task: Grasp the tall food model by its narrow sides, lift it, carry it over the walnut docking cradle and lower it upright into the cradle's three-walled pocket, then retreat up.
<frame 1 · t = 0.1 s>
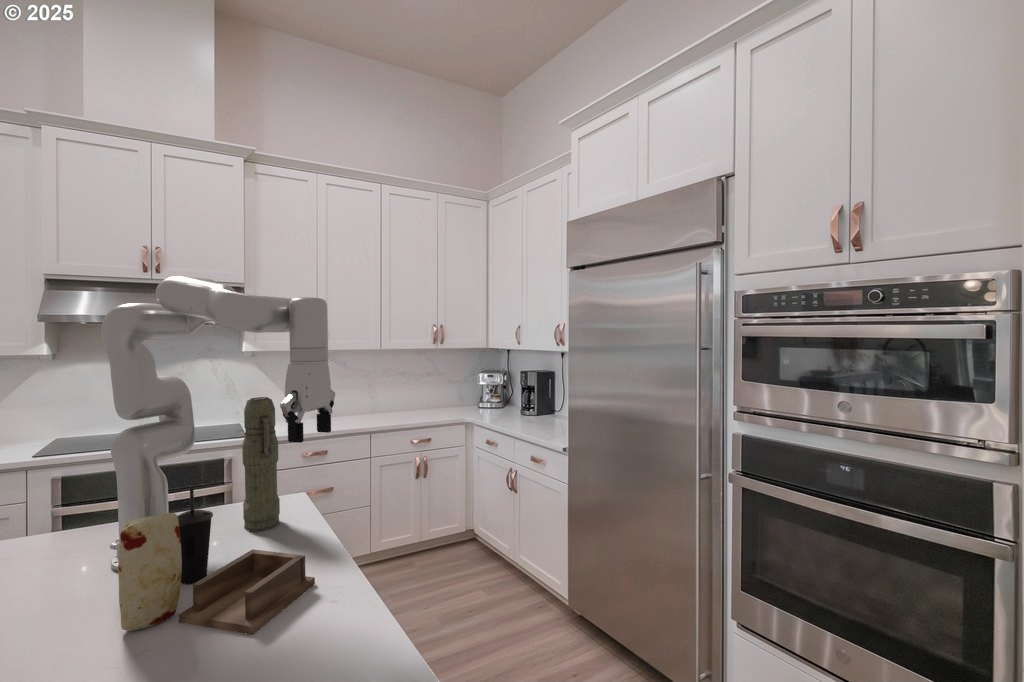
hand: (310, 436, 108), 31 cm above the counter, tool pointing down, fingers open, 9 cm apart
thermos: (261, 525, 140), on the counter
drinking cup: (193, 580, 110), on the counter
food model: (152, 623, 94), on the counter
dock: (251, 602, 101), on the counter
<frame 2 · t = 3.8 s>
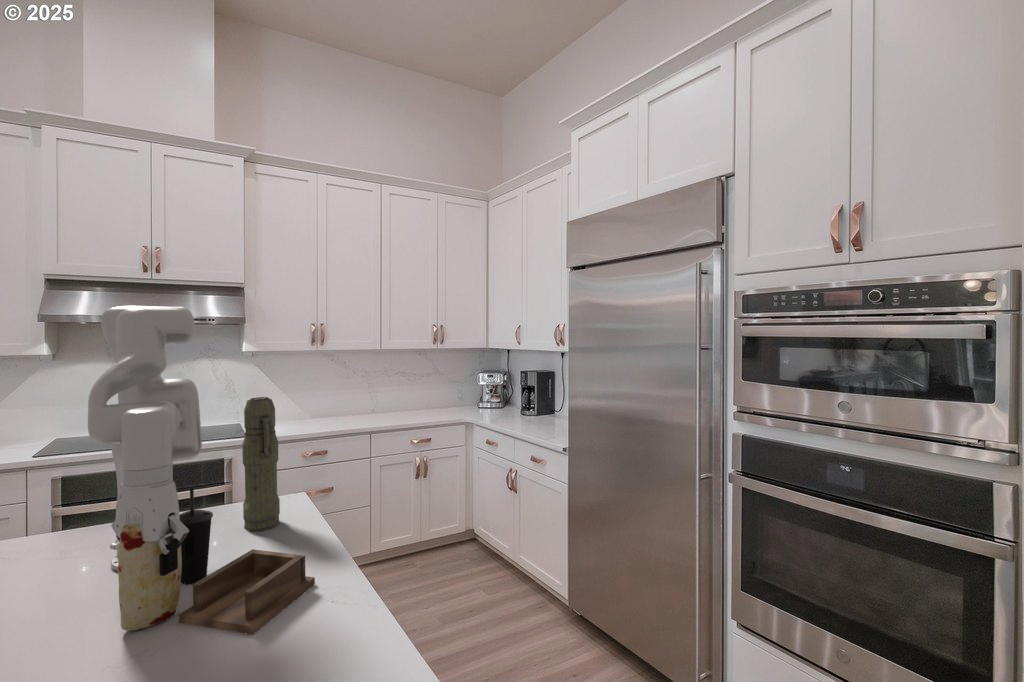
hand: (150, 569, 94), 10 cm above the counter, tool pointing down, fingers closed on food model, 7 cm apart
food model: (152, 623, 94), on the counter, touching gripper
everything else where it was.
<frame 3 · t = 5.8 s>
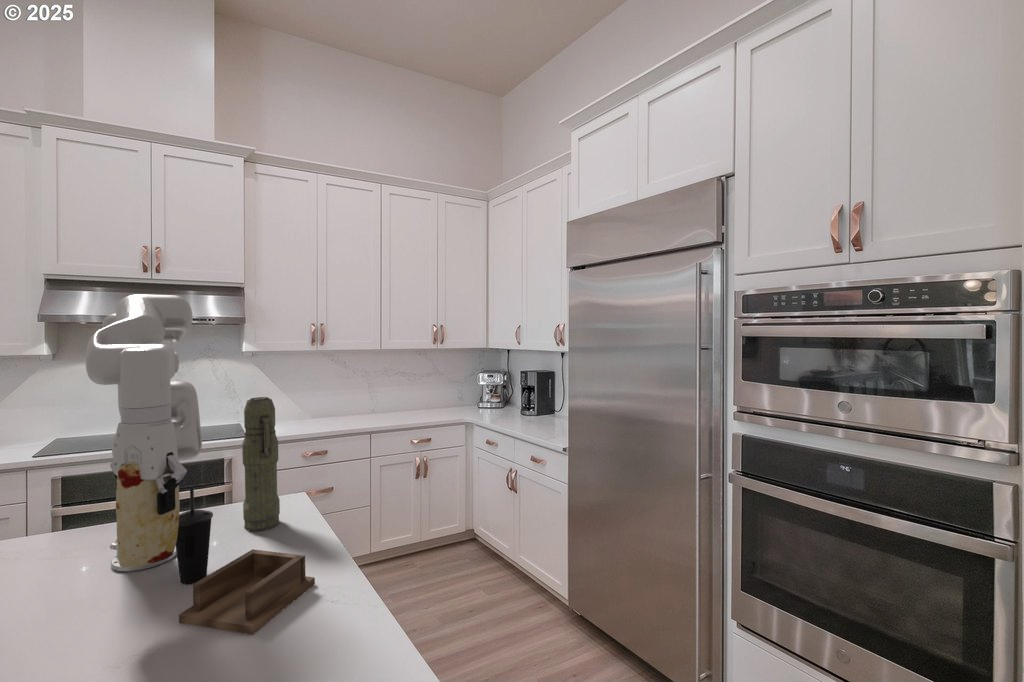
hand: (149, 509, 94), 21 cm above the counter, tool pointing down, fingers closed on food model, 7 cm apart
food model: (150, 562, 95), point 11 cm above the counter, touching gripper
everything else where it was.
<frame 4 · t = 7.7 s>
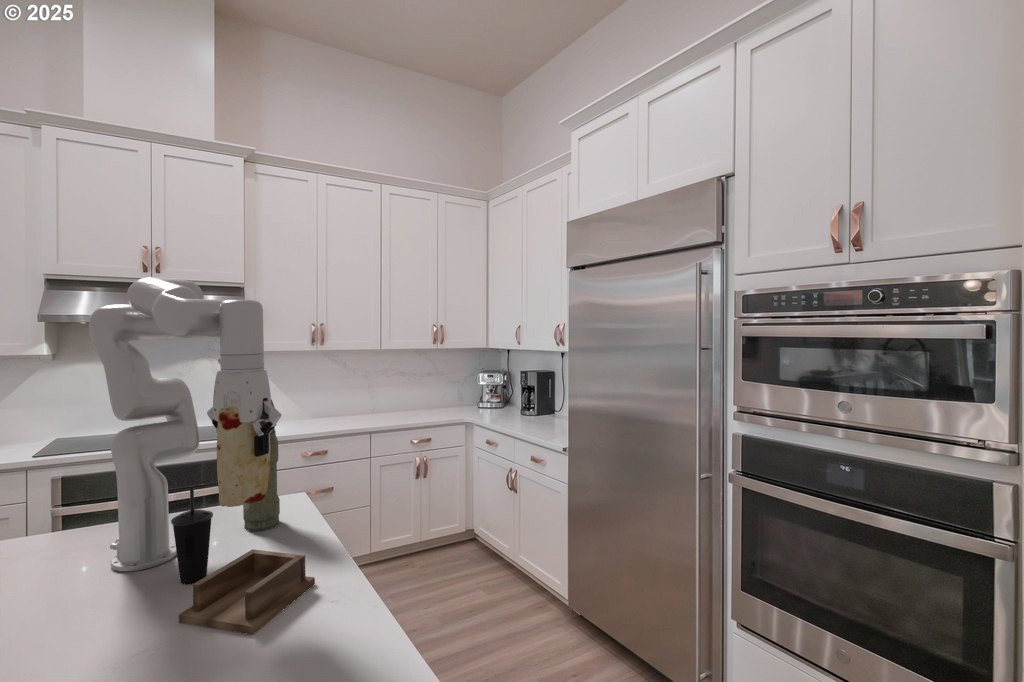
hand: (244, 453, 100), 30 cm above the counter, tool pointing down, fingers closed on food model, 7 cm apart
food model: (245, 504, 100), point 20 cm above the counter, touching gripper
everything else where it was.
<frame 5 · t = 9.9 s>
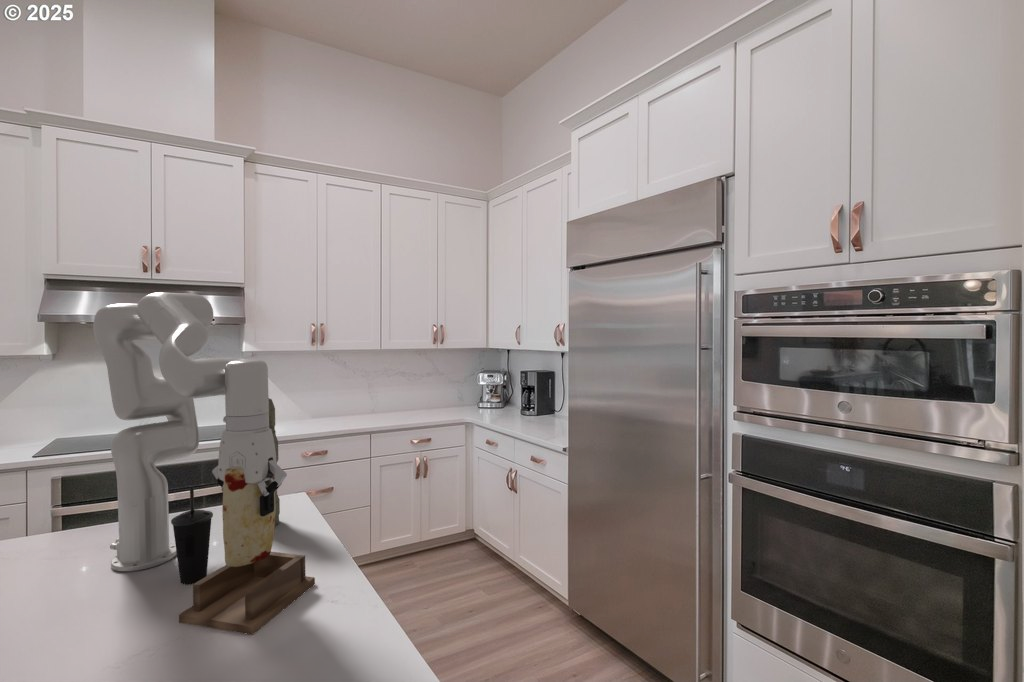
hand: (249, 511, 100), 18 cm above the counter, tool pointing down, fingers closed on food model, 7 cm apart
food model: (250, 562, 100), point 8 cm above the counter, touching gripper
everything else where it was.
when the fingers open (13 cm above the counter, at t = 11.5 s): food model drops 2 cm, resting on dock.
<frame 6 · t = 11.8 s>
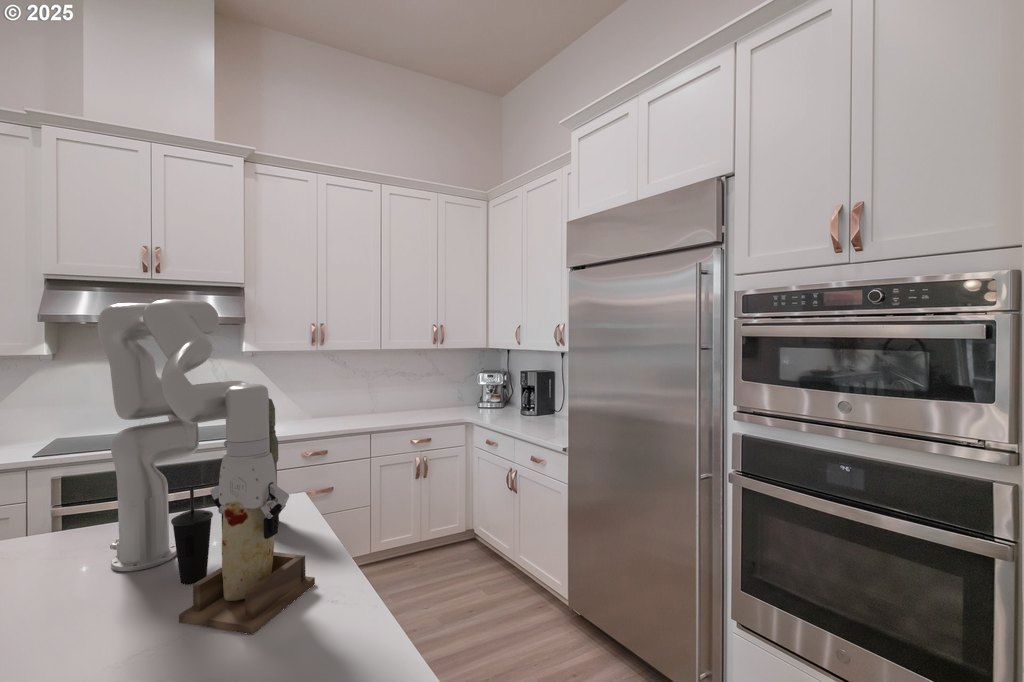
hand: (250, 533, 100), 14 cm above the counter, tool pointing down, fingers open, 9 cm apart
food model: (248, 595, 101), point 1 cm above the counter, touching dock
everything else where it was.
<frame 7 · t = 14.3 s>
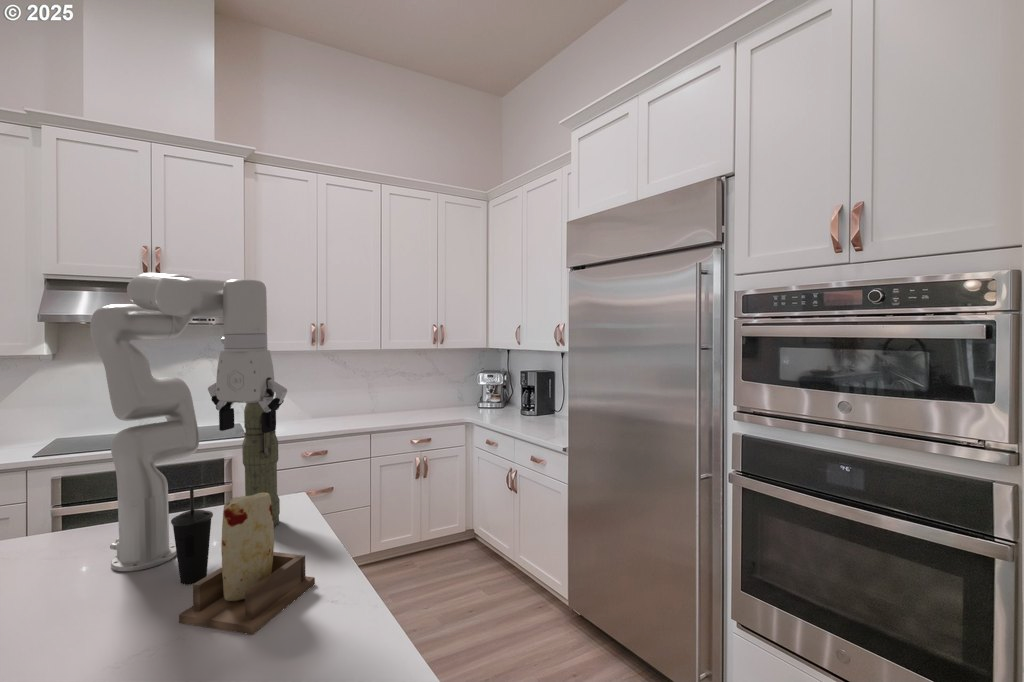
hand: (247, 430, 100), 34 cm above the counter, tool pointing down, fingers open, 9 cm apart
nothing on the counter moved.
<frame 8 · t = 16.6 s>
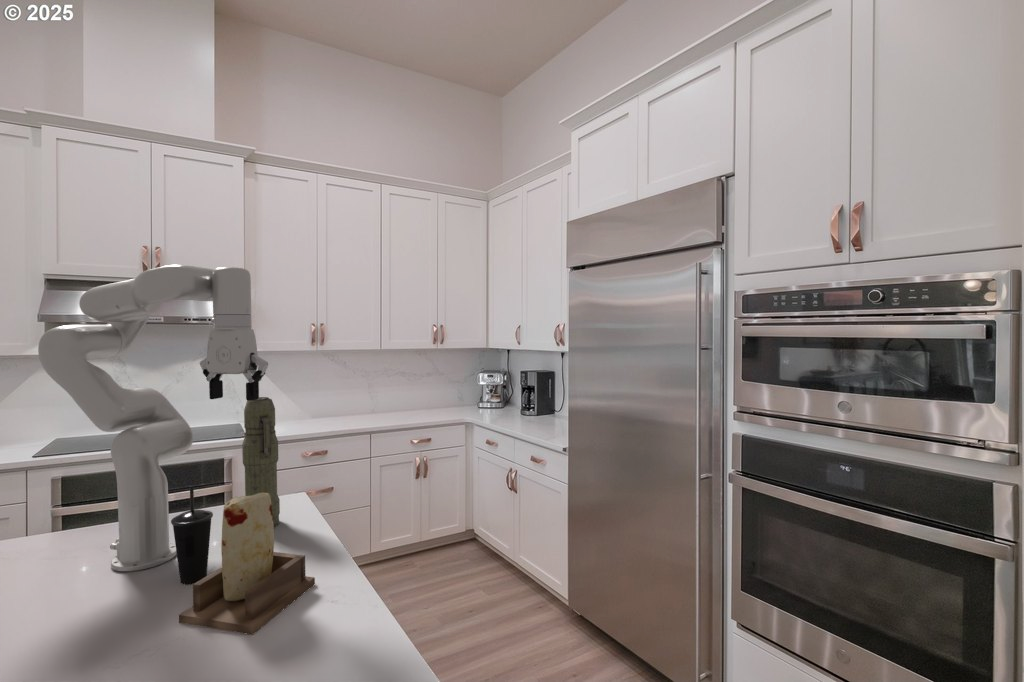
hand: (234, 399, 115), 38 cm above the counter, tool pointing down, fingers open, 9 cm apart
nothing on the counter moved.
at the end: food model 0.6 cm off-centre on the dock, point 1.3 cm above the dock's base; food model tilted 0°; the gripper is holding nothing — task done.
